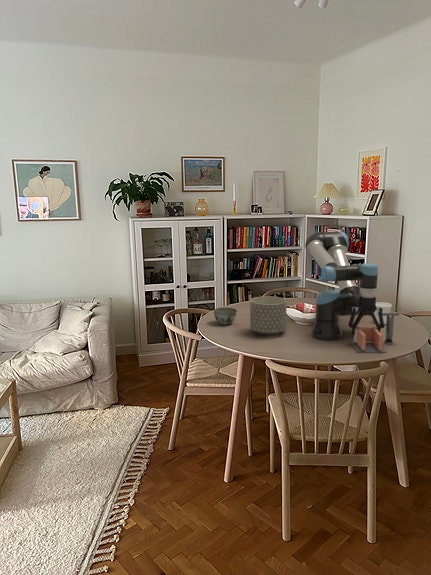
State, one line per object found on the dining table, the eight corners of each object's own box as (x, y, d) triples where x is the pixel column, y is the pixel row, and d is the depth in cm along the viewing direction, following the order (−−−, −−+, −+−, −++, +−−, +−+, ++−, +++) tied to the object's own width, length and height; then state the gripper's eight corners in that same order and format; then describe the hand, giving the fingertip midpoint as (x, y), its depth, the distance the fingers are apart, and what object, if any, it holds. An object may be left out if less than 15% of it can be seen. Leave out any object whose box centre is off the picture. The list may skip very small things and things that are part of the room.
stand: (382, 344, 204) (383, 314, 201) (379, 341, 208) (381, 312, 205) (398, 344, 203) (400, 314, 200) (395, 341, 207) (397, 312, 204)
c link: (361, 349, 193) (362, 335, 191) (354, 340, 205) (355, 327, 204) (381, 350, 192) (382, 335, 191) (373, 340, 205) (374, 327, 203)
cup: (392, 325, 233) (393, 306, 231) (373, 325, 235) (374, 306, 233) (388, 321, 243) (390, 302, 241) (370, 320, 245) (371, 302, 243)
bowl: (211, 326, 240) (210, 312, 238) (216, 320, 252) (216, 307, 251) (234, 327, 236) (234, 313, 235) (238, 321, 249) (238, 308, 248)
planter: (287, 329, 231) (288, 297, 228) (283, 339, 213) (284, 305, 210) (253, 327, 236) (253, 295, 233) (247, 337, 218) (247, 303, 215)
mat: (357, 352, 193) (357, 351, 193) (350, 343, 206) (350, 342, 206) (386, 352, 192) (386, 351, 192) (377, 343, 205) (377, 342, 205)
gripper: (346, 298, 196) (344, 343, 200) (394, 297, 194) (391, 344, 199) (342, 294, 203) (340, 338, 208) (388, 294, 202) (386, 339, 206)
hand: (365, 341), depth 203 cm, fingers closed on c link, 9 cm apart
